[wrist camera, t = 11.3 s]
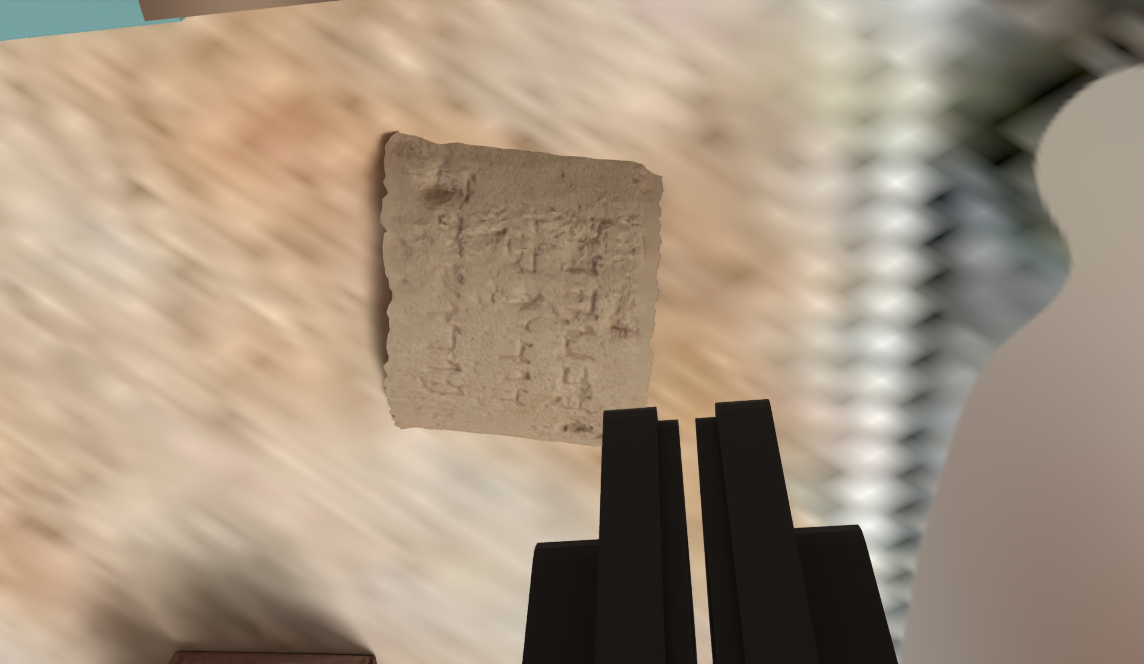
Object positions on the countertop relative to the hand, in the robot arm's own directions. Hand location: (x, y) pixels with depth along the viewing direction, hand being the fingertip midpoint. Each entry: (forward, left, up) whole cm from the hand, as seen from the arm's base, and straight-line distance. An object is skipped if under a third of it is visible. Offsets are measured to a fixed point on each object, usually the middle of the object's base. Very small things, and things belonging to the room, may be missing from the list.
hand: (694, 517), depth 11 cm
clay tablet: (+6, +13, -28) cm, 31 cm away
